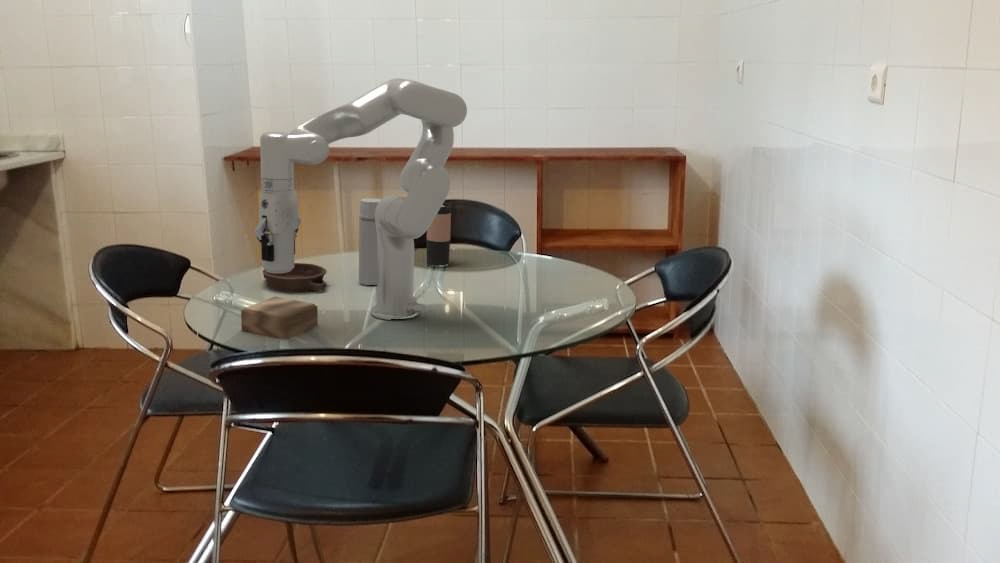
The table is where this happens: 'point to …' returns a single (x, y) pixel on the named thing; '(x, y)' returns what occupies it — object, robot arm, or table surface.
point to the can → (282, 252)
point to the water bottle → (368, 242)
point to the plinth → (279, 317)
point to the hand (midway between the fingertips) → (278, 256)
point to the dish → (298, 278)
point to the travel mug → (439, 237)
